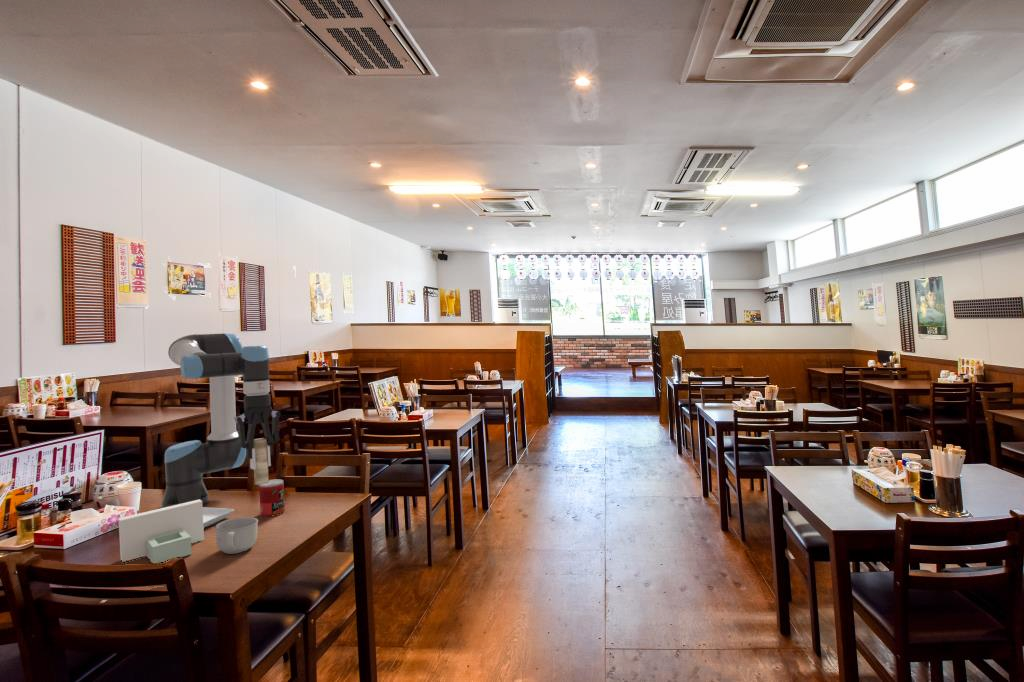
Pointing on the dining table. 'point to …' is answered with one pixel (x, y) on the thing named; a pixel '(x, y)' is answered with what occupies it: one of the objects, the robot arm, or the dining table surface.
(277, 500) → the canned food
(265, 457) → the dowel
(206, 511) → the salad plate
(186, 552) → the holed block
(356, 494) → the dining table surface
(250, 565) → the dining table surface
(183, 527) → the wall
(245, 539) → the teacup
